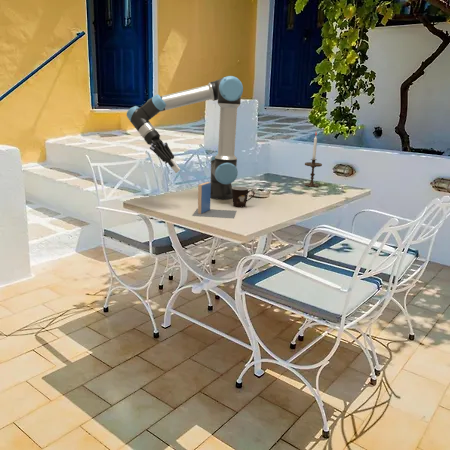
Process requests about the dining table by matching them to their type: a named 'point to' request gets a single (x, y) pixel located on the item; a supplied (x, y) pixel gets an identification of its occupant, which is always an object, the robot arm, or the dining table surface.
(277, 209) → the dining table surface
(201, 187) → the tile
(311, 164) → the candlestick
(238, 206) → the coffee mug
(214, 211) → the mat
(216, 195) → the robot arm
